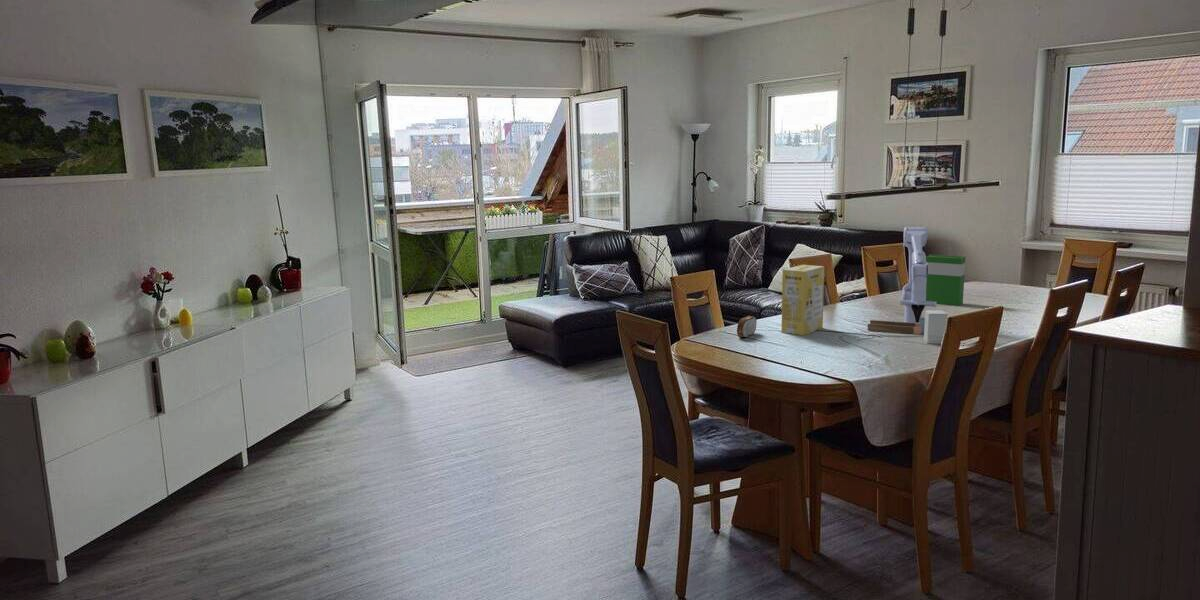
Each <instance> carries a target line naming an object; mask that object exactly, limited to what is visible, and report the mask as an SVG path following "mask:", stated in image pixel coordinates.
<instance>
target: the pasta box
mask: <svg viewBox="0 0 1200 600" xmlns="http://www.w3.org/2000/svg"><path fill="white" fill-rule="evenodd" d="M781 283H782V284H781V286H782V287H781V292H782V293H781V333H783V332H785V333H786V334H790V333H792V335H797V334H799V335H798V336H805V335H808V334H810V332H811V333H813V332H815V331H818V329H819V330H820V329H823V325H824V296H825V295H824V290H825V289H824V288H825V266H824V265H811V264H800V265H797V266H795V265H794V266H792V267H789V268H784V269H782V281H781ZM785 333H784V334H785Z"/></svg>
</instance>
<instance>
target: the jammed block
mask: <svg viewBox="0 0 1200 600" xmlns="http://www.w3.org/2000/svg"><path fill="white" fill-rule="evenodd" d="M919 327H922V329H921V334H922V335H924V327H925V316H921V318H920V326H919Z"/></svg>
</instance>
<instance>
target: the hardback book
mask: <svg viewBox="0 0 1200 600" xmlns="http://www.w3.org/2000/svg"><path fill="white" fill-rule="evenodd" d="M926 262H927V263H928V267H929V273H928V277H927V276H926V277H927V282H926V301H932V302H937V304H936V305H943V304H946V305H945V306H953V305H954V306H955V307H960V306H961V305H963V304H964V289H965V287H964V286H965V275H966V274H965V272H966V256H958V255H942V254H928V255H926Z"/></svg>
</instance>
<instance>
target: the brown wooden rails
mask: <svg viewBox="0 0 1200 600" xmlns="http://www.w3.org/2000/svg"><path fill="white" fill-rule="evenodd" d="M919 326H920V323H909V322H904V321H890V320H889V321H888V320H878V319H877V320H876V319H870V320H869V323H867V331H868V330H869V332H880V331H882V332H883V333H884V332H885V333H895V332H896V333H897V334H910V335H911V334H912V335H913V334H914V335H922V333H921V329H922V327H919Z"/></svg>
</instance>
